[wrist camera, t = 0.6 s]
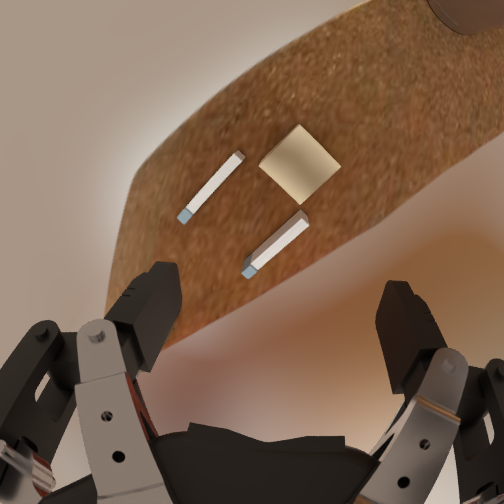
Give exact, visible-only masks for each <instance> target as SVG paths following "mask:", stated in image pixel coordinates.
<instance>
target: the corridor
mask: <svg viewBox="0 0 504 504" xmlns="http://www.w3.org/2000/svg"><path fill="white" fill-rule="evenodd" d="M244 158H245V156H244V155H243V154H242V153H241V152H240V151H239V150H238V151H236V152H235V153H234V154H233V155H232V156H231V157H230V158H229V159H228V160H227V161H226V162H225V164H224V165H223V166H222V167H221V168H220V169H219V170H218V171H217V172H216V173H215V174H214V176H213V177H212V178H211V179H210V180H209V181H208V182H207V183H206V185H205V186H204V187H203V188H202V189H201V190H200V191H199V192H198V194H197V195H196V196H195V197H194V198H193V199H192V201H191V202H190V203H189V204H188V205H187V206H186V208H185V209H184V210H183V211H182V212H181V213H180V215H179V216H178V217H177V219H178V220H180V221H181V222H182V223H183V224H185V223H186V222H187V221H188V220H189V219H190V218H191V216H192V215H193V214H194V213H195V212H196V211H197V209H198V208H199V207H200V206H201V205H202V204H203V203H204V202H205V201H206V199H207V198H208V197H209V196H210V195H211V194H212V193H213V192H214V191H215V190H216V188H217V187H218V186H219V185H220V184H221V183H222V182H223V181H224V180H225V179H226V178H227V177H228V176H229V174H230V173H231V172H232V171H233V170H234V169H235V168H236V167H237V166H238V165H239V164H240V163H241V162H242V161H243V160H244ZM308 226H309V222H308V217H307V215H306V214H305V213H304V212H303V211H302V210H301V209H300V210H299V211H298V212H297V213H296V214H295V215H294V216H293V217H292V218H290V219H289V220H288V221H287V222H286V223H285V224H284V225H283V226H282V227H280V228H279V229H278V230H277V231H276V232H275V233H274V234H273V235H272V236H270V237H269V238H268V239H267V240H266V241H265V242H264V243H263V244H262V245H261V246H259V247H258V248H257V249H256V250H255V251H254V252H253V253H252V254H251V255H249V256H248V257H247V258H246V259H245V260H244V264H243V268H242V272H241V274H242V275H244V276H245V277H246V278H247V279H249V278H251V277H252V276H253V275H254V274H255V273H256V272H257V270H258V269H259V268H261V267H262V266H263V265H264V264H265V263H266V262H268V261H269V260H270V259H271V258H272V257H273V256H275V255H276V254H277V253H278V252H279V251H280V250H282V249H283V248H284V247H285V246H286V245H287V244H288V243H290V242H291V241H292V240H293V239H294V238H295V237H297V236H298V235H299V234H300V233H301V232H302V231H303V230H305V229H306V228H307V227H308Z"/></svg>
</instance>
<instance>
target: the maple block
mask: <svg viewBox="0 0 504 504" xmlns="http://www.w3.org/2000/svg"><path fill="white" fill-rule="evenodd" d="M259 167H260V168H262V169H263V170H264V171H265V172H266V173H267V174H268V175H269V176H270V177H271V178H272V179H273V180H275V181H276V182H277V183H278V184H279V185H280V186H281V187H282V188H283V189H284V190H285V191H286V192H287V193H288V194H289V195H290V196H291V197H292V198H293V199H295V200H296V201H297V202H298V203H299V204H300V205H301V204H302V203H303V202H304V201H305V200H306V199H307V198H308V197H309V196H310V195H311V194H312V193H313V192H315V191H316V190H317V189H318V188H319V187H320V186H321V185H322V184H323V183H324V182H325V181H326V180H327V179H329V178H330V177H331V176H332V175H333V174H334V173H335V172H336V171H337V170H338V169H339V168H340V167H341V166H340V165H339V164H338V163H337V162H336V161H335V160H334V159H333V158H332V157H331V155H330V154H329V153H328V152H327V151H326V150H325V149H324V148H323V147H322V146H321V145H320V144H319V143H318V142H317V141H316V140H315V139H314V138H313V137H312V136H311V135H310V134H309V133H308V132H307V131H306V130H305V129H304V128H303V127H302V126H300V125H299V124H297V125H296V126H295V127H294V128H293V129H292V130H291V131H290V132H289V133H288V134H287V135H286V136H285V137H284V138H283V139H282V140H281V141H280V142H279V143H278V144H277V145H276V146H275V147H274V148H273V149H272V150H271V151H270V152H269V153H268V154H267V155H266V156H265V157H264V158H263V159H262V160H261V162H260V164H259Z"/></svg>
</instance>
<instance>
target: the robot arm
mask: <svg viewBox="0 0 504 504" xmlns="http://www.w3.org/2000/svg"><path fill="white" fill-rule="evenodd" d="M428 2H429V5H430V6H431V8H432V10H433V11H434V13H435V14H436V15H437V16H438V18H439V19H440V20H441V21H442V22H443V23H444V24H446V25H447V26H448V27H449V28H451V29H452V30H454V31H456V32H458V33H460V34H464V35H472V34H476V33H480V32H484V31H489V30H493V29H497V28H502V27H504V0H428ZM181 305H182V293H181V286H180V279H179V272H178V266H177V264H176V263H171V262H161V261H157V262H156V263H155V264H154V265H153V266H152V268H151V269H150V270H149V272H148V273H145V272H144V273H142V274H141V275H139V276H138V277H136V278H135V279H133V281H132V282H131V283H130V284H129V286H128V287H127V289H126V290H125V291H124V292H123V293H122V296H120V297H119V299H118V300H117V301H116V303H115V304H114V305H113V307H112V308H111V309H110V311H109V312H108V313H107V315H106V316H105V317H104V319H96V320H93V321H90V322H88V323H86V324H85V325H83V326H82V327H81V328H80V330H79V331H78V332H61V331H60V329H59V327H58V325H57V324H56V323H55V322H54V321H51V320H45V321H41V322H38V323H36V324H35V325H33V326H32V327H31V328H30V329H29V331H28V332H27V333H26V335H25V336H24V337H23V339H22V340H21V341H20V343H19V344H18V345H17V347H16V348H15V349H14V351H13V352H12V354H11V355H10V356H9V358H8V359H7V361H6V362H5V364H4V365H3V367H2V368H1V369H0V502H1V503H3V504H424V502H425V500H426V499H427V497H428V495H429V493H430V491H431V489H432V487H433V486H434V484H435V482H436V480H437V478H438V476H439V473H440V472H441V469H442V467H443V465H444V463H445V460H446V458H447V456H448V454H449V451H450V449H451V446H452V444H453V448H454V454H455V460H456V468H457V476H458V485H459V497H460V504H504V361H503V360H501V359H492V360H490V361H489V363H488V364H487V365H486V367H485V368H484V369H482V368H478V367H473V366H468V363H467V361H466V359H465V357H464V356H463V355H462V354H461V353H459V352H458V351H456V350H454V349H452V348H448V347H447V344H446V342H445V340H444V338H443V336H442V334H441V332H440V330H439V327H438V325H437V323H436V322H435V319H434V317H433V316H432V314H431V311H430V309H429V308H428V306H427V304H426V302H424V301H423V300H422V299H421V298H420V297H419V296H418V295H414V293H413V291H412V289H411V287H410V285H409V284H408V282H407V281H392V280H389V281H388V282H387V283H386V285H385V289H384V292H383V295H382V298H381V301H380V304H379V307H378V310H377V313H376V320H375V324H376V330H377V333H378V337H379V340H380V344H381V348H382V351H383V355H384V359H385V363H386V367H387V371H388V376H389V380H390V384H391V388H392V393H393V394H404V396H405V399H404V401H403V402H402V404H401V405H400V407H399V409H398V411H397V412H396V414H395V416H394V418H393V419H392V421H391V422H390V424H389V426H388V427H387V429H386V430H385V432H384V434H383V435H382V437H381V438H380V440H379V441H378V443H377V444H376V445H375V446H374V448H373V449H372V450H371V451H370V453H369V454H367V453H365V452H364V451H361V450H359V449H357V448H353V447H350V446H346V445H345V436H305V437H300V438H294V439H288V440H282V441H276V442H262V441H259V440H256V439H253V438H251V437H247V436H245V435H242V434H239V433H236V432H234V431H231V430H229V429H224V428H218V427H211V426H206V425H201V424H195V423H191V422H190V424H189V428H188V431H182V432H173V433H169V434H165V435H162V436H159V434H158V432H157V430H156V428H155V426H154V424H153V422H152V420H151V417H150V415H149V412H148V409H147V407H146V404H145V401H144V399H143V396H142V393H141V390H140V387H139V384H138V381H137V378H136V375H137V373H138V371H139V370H141V371H145V372H149V373H150V372H151V370H152V367H153V365H154V363H155V361H156V359H157V357H158V355H159V353H160V350H161V348H162V346H163V344H164V342H165V340H166V338H167V336H168V334H169V332H170V330H171V328H172V326H173V324H174V322H175V320H176V318H177V316H178V314H179V311H180V309H181ZM46 373H47V374H48V375H49V377H50V379H49V381H48V383H47V384H46V386H45V388H44V390H43V391H42V393H41V395H40V397H39V399H38V400H37V402H36V400H35V391H36V389H37V387H38V385H39V384H40V382H41V380H42V379H43V377H44V375H45V374H46ZM76 406H77V409H78V415H79V420H80V426H81V431H82V436H83V441H84V445H85V449H86V454H87V457H88V461H89V465H90V469H91V472H92V473H91V474H89V475H88V476H86V477H84V478H81V479H80V480H77V481H76V482H73V483H71V484H69V485H67V486H65V487H63V488H60V489H58V490H56V491H54V492H52V489H53V488H54V487H55V485H56V481H55V479H54V477H53V473H52V469H51V466H50V465H51V462H52V460H53V457H54V455H55V453H56V450H57V448H58V445H59V443H60V441H61V438H62V436H63V434H64V432H65V429H66V427H67V425H68V423H69V421H70V418H71V416H72V414H73V412H74V410H75V408H76ZM488 413H489V414H490V417H491V421H492V425H493V429H494V439H493V442H492V444H491V445H490V443H489V438H488V434H487V430H486V426H485V422H484V419H483V418H484V417H485V416H486V415H487V414H488Z"/></svg>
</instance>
